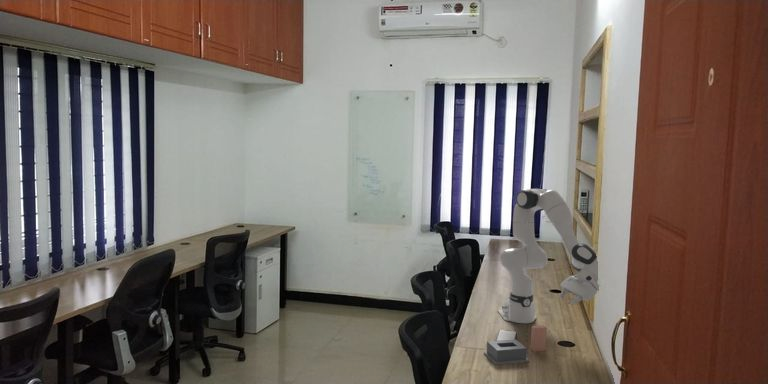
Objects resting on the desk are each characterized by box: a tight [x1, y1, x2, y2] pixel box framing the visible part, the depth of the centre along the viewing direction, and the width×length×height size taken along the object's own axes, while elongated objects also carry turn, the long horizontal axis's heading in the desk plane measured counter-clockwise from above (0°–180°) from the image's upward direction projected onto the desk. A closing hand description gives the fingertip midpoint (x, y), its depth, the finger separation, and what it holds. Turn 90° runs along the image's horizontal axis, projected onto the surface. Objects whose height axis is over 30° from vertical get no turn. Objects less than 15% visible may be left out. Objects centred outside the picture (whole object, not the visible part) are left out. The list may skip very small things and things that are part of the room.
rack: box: [483, 338, 530, 366], centre depth 236 cm, size 12×16×6 cm
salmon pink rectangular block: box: [530, 324, 548, 352], centre depth 246 cm, size 3×6×11 cm, turn 103°
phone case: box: [495, 329, 518, 341], centre depth 260 cm, size 9×2×16 cm
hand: (566, 300), depth 248 cm, fingers open, 8 cm apart
